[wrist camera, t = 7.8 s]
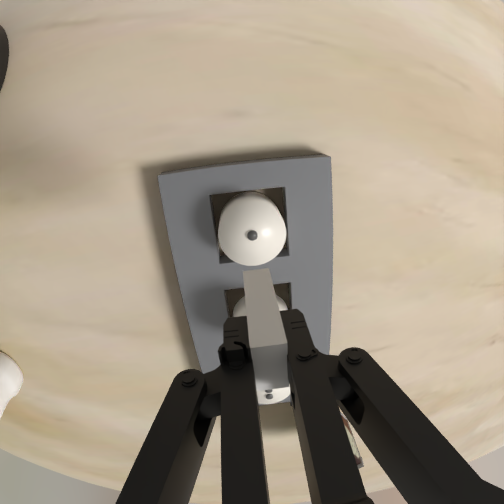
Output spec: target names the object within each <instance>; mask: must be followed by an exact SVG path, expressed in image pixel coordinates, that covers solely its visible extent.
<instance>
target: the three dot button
mask: <svg viewBox="0 0 504 504" xmlns="http://www.w3.org/2000/svg"><path fill="white" fill-rule="evenodd" d="M289 395H290V386H289V387H285V388H278V389H270V390H262V391H257V397H258V403H259V404H273V403H277V402H280V401H282V400H284V399H285V398H287V397H288V396H289Z"/></svg>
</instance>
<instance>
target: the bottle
mask: <svg viewBox="0 0 504 504" xmlns="http://www.w3.org/2000/svg"><path fill="white" fill-rule="evenodd" d="M22 383H23V373H22V371H21V369H20V367H19V366H18V365H17V363H16V362H15V361H14V360H13V359H12V358H11V357H9V356H8V355H6V354H5V353H3V352H0V418H1V416H2V414H3V412H4V409H5V407H6V405H7V403H8V402H9V400H10V399H11V398H12V397H14V396H15V395H16V394H17V393H18V392H19V390H20V388H21V386H22Z"/></svg>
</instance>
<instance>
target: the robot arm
mask: <svg viewBox="0 0 504 504" xmlns="http://www.w3.org/2000/svg"><path fill="white" fill-rule="evenodd" d="M8 57H9V45H8V39H7V35H6V32H5V30H4V29H3V27H2V26H1V25H0V91H1V88H2V85H3V82H4V79H5V75H6V71H7V65H8ZM243 279H244V291H245V302H246V313H247V316H240V317H231V318H227V320H226V321H225V323H224V324H223V344H222V345H221V346H220V347H219V349H218V356H219V360H220V364H221V365H220V366H219V367H218V368H216V369H215V370H213V371H210V372H207V373H204V374H203V373H202V372H200V371H199V370H195V369H188V370H184V371H182V372H180V373H179V374H177V376H176V377H175V378H174V380H173V382H172V384H171V386H170V388H169V391H168V393H167V395H166V397H165V399H164V401H163V403H162V405H161V407H160V409H159V412H158V414H157V416H156V418H155V420H154V422H153V424H152V426H151V428H150V431H149V433H148V435H147V437H146V439H145V441H144V443H143V445H142V448H141V450H140V452H139V454H138V456H137V458H136V460H135V463H134V465H133V467H132V469H131V471H130V473H129V476H128V478H127V480H126V482H125V484H124V486H123V489H122V491H121V493H120V495H119V497H118V499H117V502H116V504H188V503H189V500H190V497H191V494H192V491H193V488H194V485H195V482H196V479H197V476H198V473H199V470H200V467H201V463H202V460H203V457H204V454H205V451H206V448H207V445H208V442H209V439H210V436H211V432H212V429H213V426H214V423H215V420H216V416H219V415H221V477H222V504H270V500H269V491H268V483H267V475H266V466H265V458H264V449H263V441H262V432H261V423H260V414H259V405H258V397H257V391H262V390H270V389H278V388H285V387H289V386H290V402H291V406H292V407H293V411H294V416H295V421H296V426H297V431H298V436H299V441H300V446H301V451H302V456H303V461H304V466H305V471H306V476H307V481H308V487H309V492H310V497H311V502H312V504H374V502H373V501H372V499H370V498H369V497H368V496H367V495H366V492H365V489H364V486H363V482H362V479H361V476H360V473H359V469H358V466H357V463H356V460H355V457H354V453H353V450H352V447H351V444H350V441H349V438H348V435H347V431H346V428H345V425H344V422H343V419H342V416H341V413H340V410H339V408H340V409H341V410H342V412H343V413H344V415H345V416H346V418H347V419H348V420H349V422H350V423H351V425H352V426H353V428H354V429H355V430H356V432H357V433H358V435H359V436H360V437H361V439H362V440H363V442H364V443H365V444H366V446H367V447H368V449H369V450H370V452H371V453H372V454H373V456H374V457H375V459H376V460H377V461H378V463H379V464H380V466H381V467H382V468H383V470H384V471H385V473H386V474H387V475H388V477H389V478H390V480H391V481H392V482H393V484H394V485H395V486H396V488H397V489H398V490H399V492H400V493H401V495H402V496H403V497H404V499H405V500H406V501H407V503H408V504H504V490H503V489H501V488H498V487H496V486H494V485H492V484H490V483H488V482H486V481H484V480H482V479H481V478H480V477H479V476H478V474H477V473H476V472H475V471H474V470H473V469H472V468H471V467H470V465H469V464H468V463H467V462H466V461H465V460H464V459H463V457H462V456H461V455H460V454H459V453H458V452H457V451H456V450H455V448H454V447H453V446H452V445H451V444H450V443H449V442H448V441H447V439H446V438H445V437H444V436H443V435H442V434H441V433H440V432H439V431H438V429H437V428H436V427H435V426H434V425H433V424H432V423H431V422H430V421H429V419H428V418H427V417H426V416H425V415H424V414H423V413H422V412H421V411H420V409H419V408H418V407H417V406H416V405H415V404H414V403H413V402H412V401H411V400H410V398H409V397H408V396H407V395H406V394H405V393H404V392H403V391H402V390H401V389H400V387H399V386H398V385H397V384H396V383H395V382H394V381H393V380H392V379H391V378H390V377H389V375H388V374H387V373H386V372H385V371H384V370H383V369H382V368H381V367H380V366H379V365H378V364H377V362H376V361H375V360H374V359H373V358H372V357H371V356H370V355H369V354H368V353H367V352H366V351H365V350H363V349H360V348H353V347H352V348H347V349H345V350H343V351H342V352H341V353H340V355H339V356H335V355H326V354H323V353H321V352H319V350H318V349H317V348H315V346H314V344H313V341H312V338H311V335H310V332H309V329H308V327H307V323H306V320H305V318H304V315H303V313H302V312H300V311H299V310H298V309H290V310H283V311H279V307H278V303H277V299H276V295H275V291H274V287H273V283H272V279H271V275H270V271H269V268H265V269H257V270H248V271H243ZM338 406H339V407H338Z"/></svg>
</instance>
